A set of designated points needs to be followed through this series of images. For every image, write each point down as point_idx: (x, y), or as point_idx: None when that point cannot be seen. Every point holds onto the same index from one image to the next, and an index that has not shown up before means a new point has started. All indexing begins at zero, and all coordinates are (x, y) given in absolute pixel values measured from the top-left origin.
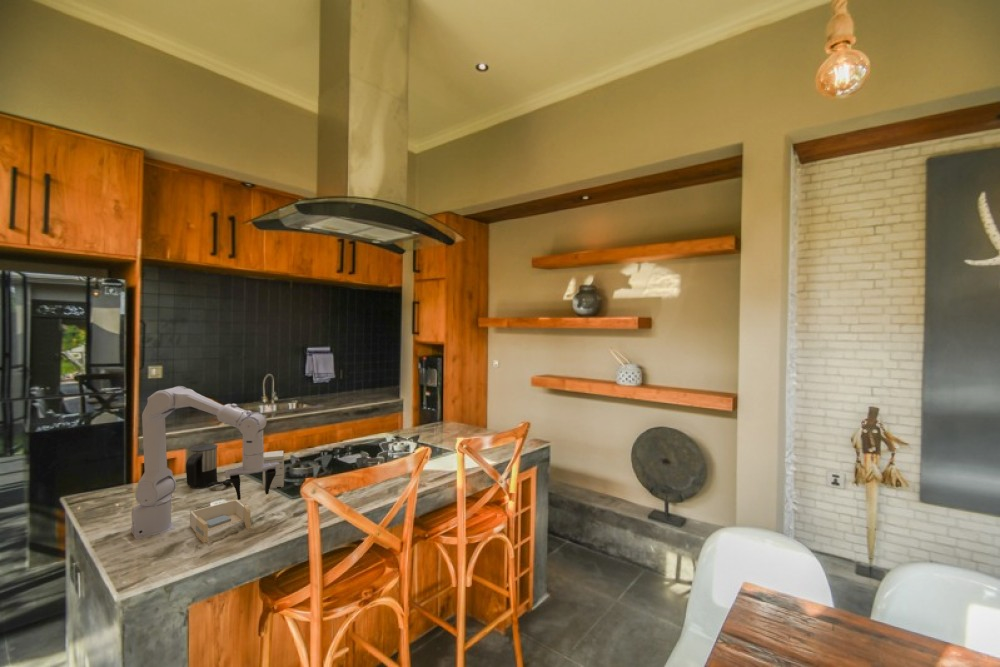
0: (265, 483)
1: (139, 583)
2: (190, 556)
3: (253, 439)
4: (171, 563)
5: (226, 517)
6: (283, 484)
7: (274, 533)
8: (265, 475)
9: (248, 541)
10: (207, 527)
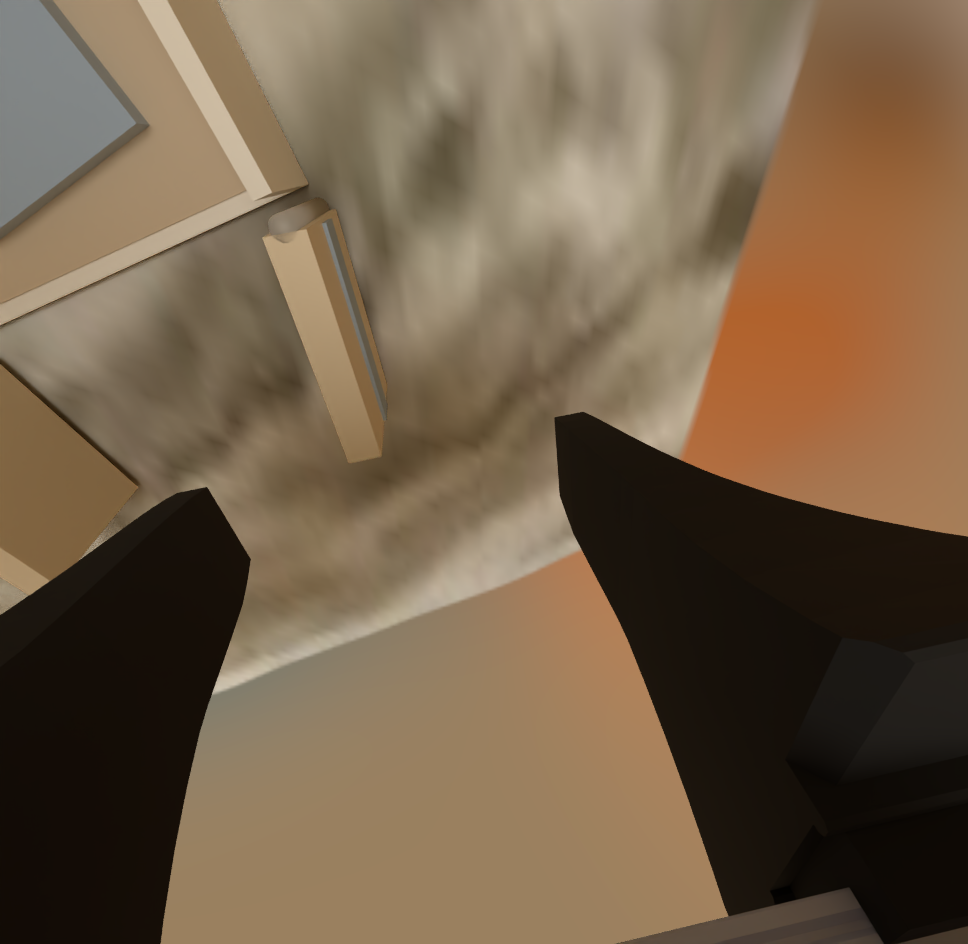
0: (612, 474)
1: None
2: None
3: None
4: None
5: (55, 55)
6: None
7: (537, 483)
8: (708, 585)
9: (400, 529)
10: (77, 560)
